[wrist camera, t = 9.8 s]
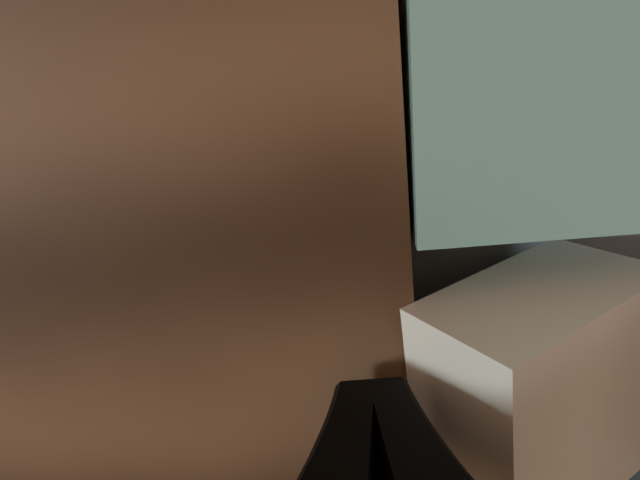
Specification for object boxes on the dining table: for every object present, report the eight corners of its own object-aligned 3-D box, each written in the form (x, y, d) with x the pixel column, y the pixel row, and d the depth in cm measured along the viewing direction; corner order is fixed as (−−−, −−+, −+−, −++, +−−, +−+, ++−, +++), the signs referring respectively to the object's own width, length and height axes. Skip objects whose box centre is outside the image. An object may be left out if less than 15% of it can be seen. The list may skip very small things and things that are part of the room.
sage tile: (603, 194, 11) (677, 231, 9) (400, 211, 11) (417, 250, 9) (625, -32, 10) (723, -66, 7) (391, -6, 10) (408, -30, 7)
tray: (676, 464, 14) (780, 587, 11) (421, 479, 15) (446, 601, 11) (766, -90, 10) (995, -173, 6) (392, -40, 10) (419, -91, 7)
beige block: (549, 398, 13) (655, 456, 11) (418, 487, 11) (515, 581, 9) (553, 237, 11) (677, 269, 9) (399, 308, 9) (512, 370, 7)
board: (408, 426, 14) (425, 515, 11) (17, 451, 15) (-57, 540, 12) (375, -94, 10) (389, -155, 7) (-168, -16, 11) (-347, -44, 8)
